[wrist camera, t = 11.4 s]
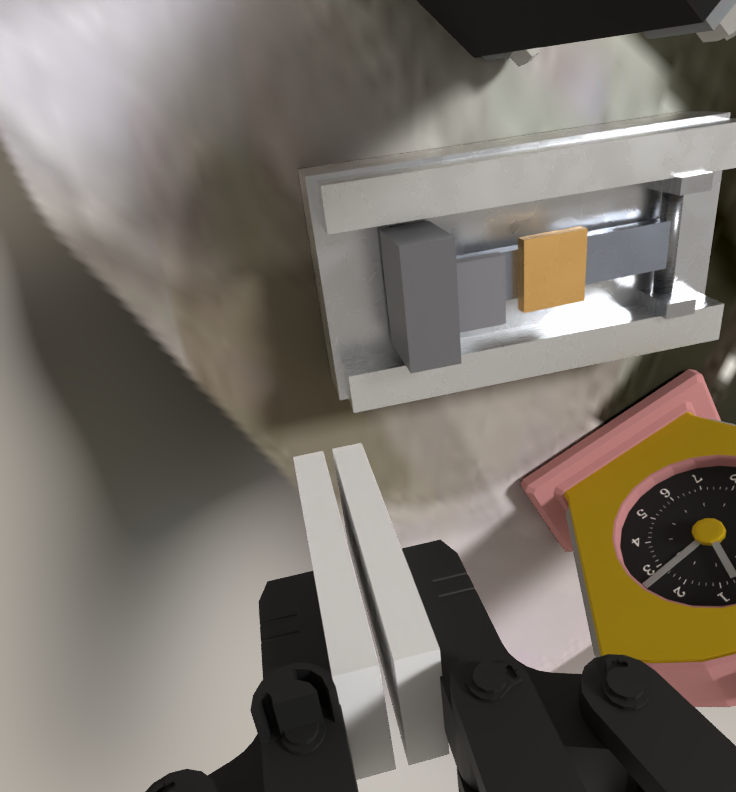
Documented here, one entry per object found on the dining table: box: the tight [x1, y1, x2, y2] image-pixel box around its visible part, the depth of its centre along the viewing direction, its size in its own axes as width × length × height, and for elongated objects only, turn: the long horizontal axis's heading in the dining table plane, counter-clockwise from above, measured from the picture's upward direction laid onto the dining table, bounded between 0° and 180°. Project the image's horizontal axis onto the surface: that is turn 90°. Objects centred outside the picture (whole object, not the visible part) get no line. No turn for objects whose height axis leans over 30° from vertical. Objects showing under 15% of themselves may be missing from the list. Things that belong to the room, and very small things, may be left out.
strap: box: [456, 192, 684, 313], centre depth 37 cm, size 6×16×2 cm, turn 97°
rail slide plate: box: [298, 111, 736, 413], centre depth 39 cm, size 14×26×7 cm, turn 97°
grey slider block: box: [379, 221, 506, 373], centre depth 35 cm, size 7×6×5 cm
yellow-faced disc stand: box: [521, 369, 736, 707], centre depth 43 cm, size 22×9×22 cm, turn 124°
